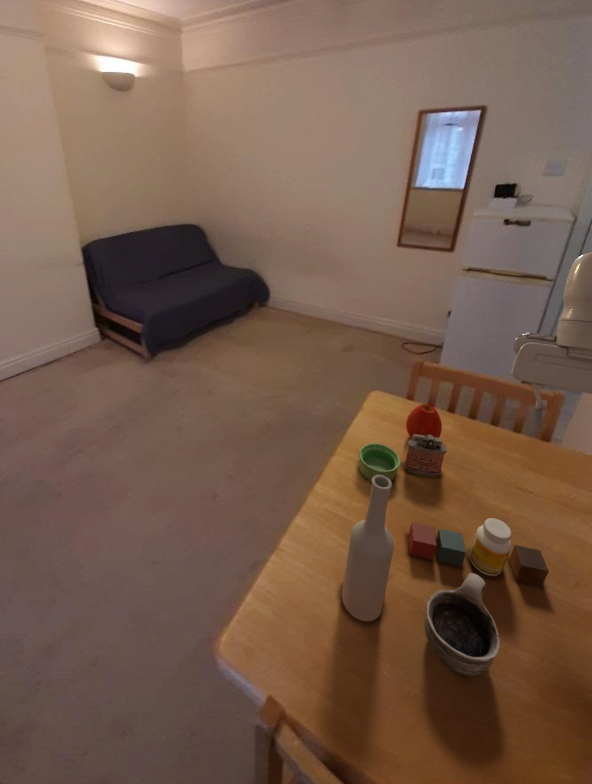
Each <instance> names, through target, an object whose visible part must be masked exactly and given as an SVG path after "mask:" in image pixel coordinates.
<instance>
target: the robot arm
mask: <svg viewBox="0 0 592 784" xmlns="http://www.w3.org/2000/svg"><path fill="white" fill-rule="evenodd" d="M562 300H563V310H562V312H561V315H560V316H559V318H558V322H557V329H556V334H555V335H551V334H550V335H549V334H537V333H535V332H526V333H525V334H524V333H523V334H520V335H518V336H517V337H516V338H515V339H514V345H513V351H514V354H515V357H514V360H513V363H512V366H511V372H510V376H511V377H512V378H513V379H514V380H517V381H521V382H526V383H531V387H530V388H531V391H532V393H533V396H534V398H535V399H536V401H535V409H536V410H540V411H547V406H548V400H545V399H543V398H542V396H541V394H540V392H539V391H542V390H543V386H547V387H548V386H549V387H553V388H558V389H564V390H569V391H574V392H579V393H585V394H591V395H592V251H589V252H585V253H583V254H581V255H580V256H578V257H577V258H575V260H574V261H573V262H572V264H571V267H570V269H569V272H568V275H567V278H566V282H565V286H564V291H563V295H562Z"/></svg>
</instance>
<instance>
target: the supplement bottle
mask: <svg viewBox="0 0 592 784" xmlns="http://www.w3.org/2000/svg"><path fill="white" fill-rule="evenodd" d="M511 536H512V530H511V528H510V526H509V525H508V524H506V522H504V521H502V520H500V519H498V518H494V517H489V518H487V519H486V520H484V523H483V524H482V525H480V526H478V528H477V529H476V531H475V535H474V537H473V540H472V543H471V547H470V550H469V554H468V557H469V561H470V562H471V564H472V565H473V567H474V568H475V569H476V570H477V571H478V572H480V573H482V574H484V575H486V576H490V577H497V576H498V575H500V574H501V573H502V572H503V570H504V568H505V565H506V563H507V560H508V558H509V555H510V553H511V550H512V546H513V544H512V540H511Z"/></svg>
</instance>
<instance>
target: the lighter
mask: <svg viewBox="0 0 592 784" xmlns="http://www.w3.org/2000/svg"><path fill="white" fill-rule="evenodd" d="M447 450H448V449H447V446H446V445H445V444H443V438H440V437H439V438H436V437H433V435H427V436H424V435H417V434H414V435H413V437H412V439H411V438H410V439H409V440H408V441H407V449H406V455H405V460H404V462H403V469H404V470H405V471H406V472H409V473H412V474H415V475H420V476H426V477H440V476H441V474H442V466H443V463H444V458H445V454H447Z"/></svg>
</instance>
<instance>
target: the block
mask: <svg viewBox="0 0 592 784" xmlns="http://www.w3.org/2000/svg"><path fill="white" fill-rule="evenodd" d="M435 537H436V543H437V547H436V551H435V553H436V558H437V562H441V563H444V564H449V565H452V566H457V567H463V564H464V560H465V557H466V555H467V549H466V545H465V541H464V537H463V533H462V532H458V531H452V530H448V529H445V528H438V529H437V533H436V536H435Z"/></svg>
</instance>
